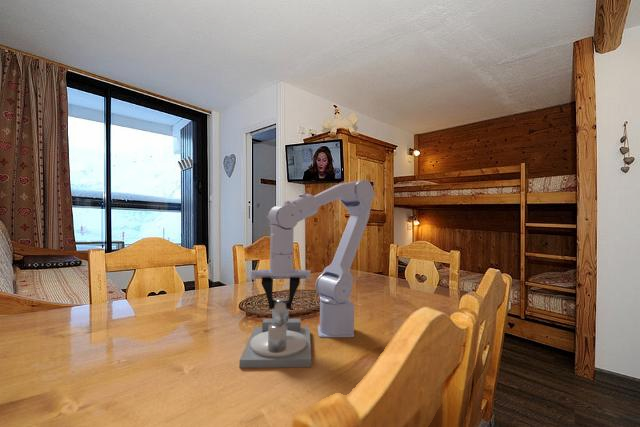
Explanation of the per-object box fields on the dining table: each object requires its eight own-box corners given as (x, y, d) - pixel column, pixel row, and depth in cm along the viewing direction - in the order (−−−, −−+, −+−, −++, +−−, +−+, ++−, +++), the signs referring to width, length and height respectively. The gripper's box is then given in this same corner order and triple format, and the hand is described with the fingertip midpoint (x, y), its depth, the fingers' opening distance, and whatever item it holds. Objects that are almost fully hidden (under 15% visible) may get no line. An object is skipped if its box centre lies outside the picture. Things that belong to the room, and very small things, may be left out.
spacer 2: (286, 344, 66) (287, 322, 67) (285, 352, 62) (286, 329, 63) (269, 344, 66) (269, 322, 66) (266, 352, 62) (267, 329, 62)
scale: (309, 332, 81) (309, 317, 81) (311, 367, 62) (311, 347, 62) (254, 332, 80) (254, 318, 80) (239, 367, 61) (239, 348, 61)
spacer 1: (287, 317, 75) (288, 297, 75) (289, 322, 71) (289, 302, 71) (271, 318, 74) (272, 298, 74) (272, 323, 70) (272, 302, 70)
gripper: (309, 251, 77) (308, 303, 77) (254, 251, 76) (253, 303, 76) (311, 255, 70) (310, 311, 70) (250, 254, 69) (248, 312, 69)
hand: (280, 308), depth 72 cm, fingers closed on spacer 1, 4 cm apart
